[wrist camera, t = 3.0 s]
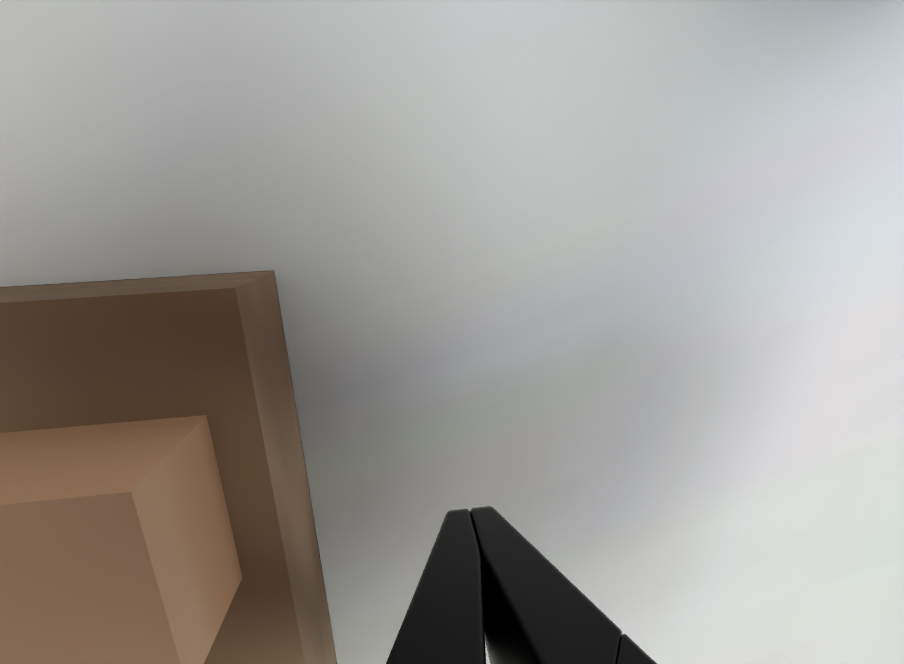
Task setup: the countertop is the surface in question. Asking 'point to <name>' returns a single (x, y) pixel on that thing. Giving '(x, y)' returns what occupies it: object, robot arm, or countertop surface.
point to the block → (113, 544)
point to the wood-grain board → (182, 395)
